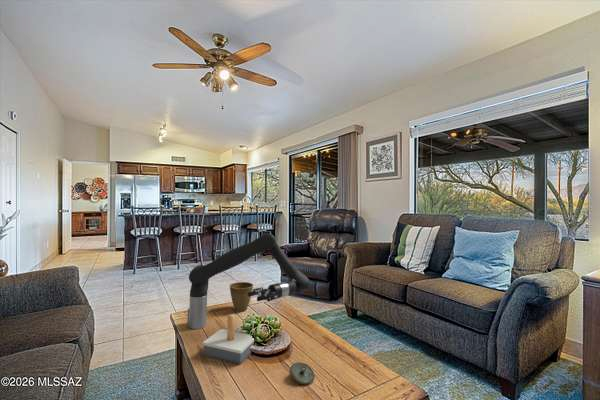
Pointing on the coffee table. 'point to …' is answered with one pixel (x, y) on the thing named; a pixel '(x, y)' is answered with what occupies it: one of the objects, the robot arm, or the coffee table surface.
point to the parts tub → (227, 354)
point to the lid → (302, 373)
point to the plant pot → (240, 295)
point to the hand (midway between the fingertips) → (252, 296)
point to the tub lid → (229, 338)
